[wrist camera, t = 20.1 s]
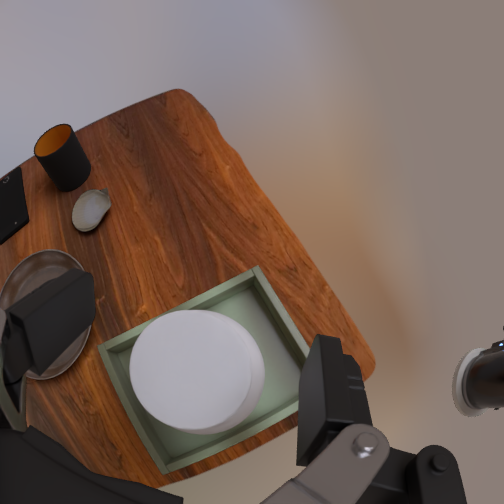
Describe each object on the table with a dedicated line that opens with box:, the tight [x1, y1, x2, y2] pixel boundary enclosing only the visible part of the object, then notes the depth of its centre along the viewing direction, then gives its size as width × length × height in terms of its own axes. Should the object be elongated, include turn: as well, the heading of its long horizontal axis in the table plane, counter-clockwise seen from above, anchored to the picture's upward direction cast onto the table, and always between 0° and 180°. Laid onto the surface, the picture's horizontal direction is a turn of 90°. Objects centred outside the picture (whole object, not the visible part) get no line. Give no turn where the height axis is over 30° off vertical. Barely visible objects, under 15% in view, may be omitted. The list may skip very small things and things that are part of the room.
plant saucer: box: [0, 249, 91, 380], centre depth 36 cm, size 21×21×3 cm
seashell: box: [72, 188, 112, 232], centre depth 44 cm, size 8×3×8 cm
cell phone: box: [0, 167, 29, 244], centre depth 46 cm, size 9×18×1 cm, turn 36°
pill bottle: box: [129, 310, 265, 435], centre depth 15 cm, size 6×6×11 cm
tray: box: [97, 266, 310, 475], centre depth 27 cm, size 13×10×20 cm
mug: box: [34, 124, 91, 191], centre depth 45 cm, size 8×12×10 cm
